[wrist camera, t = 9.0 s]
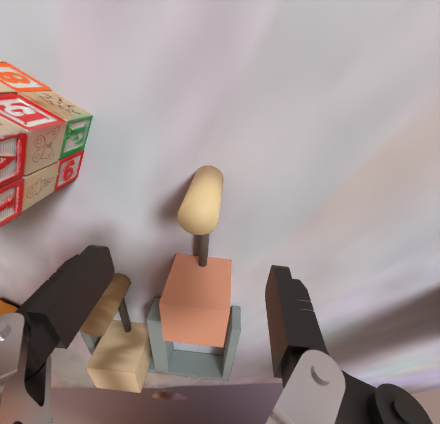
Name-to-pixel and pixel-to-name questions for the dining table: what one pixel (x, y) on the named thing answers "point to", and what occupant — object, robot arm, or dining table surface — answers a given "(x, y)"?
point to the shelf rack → (183, 360)
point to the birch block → (117, 342)
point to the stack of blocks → (36, 141)
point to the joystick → (198, 271)
